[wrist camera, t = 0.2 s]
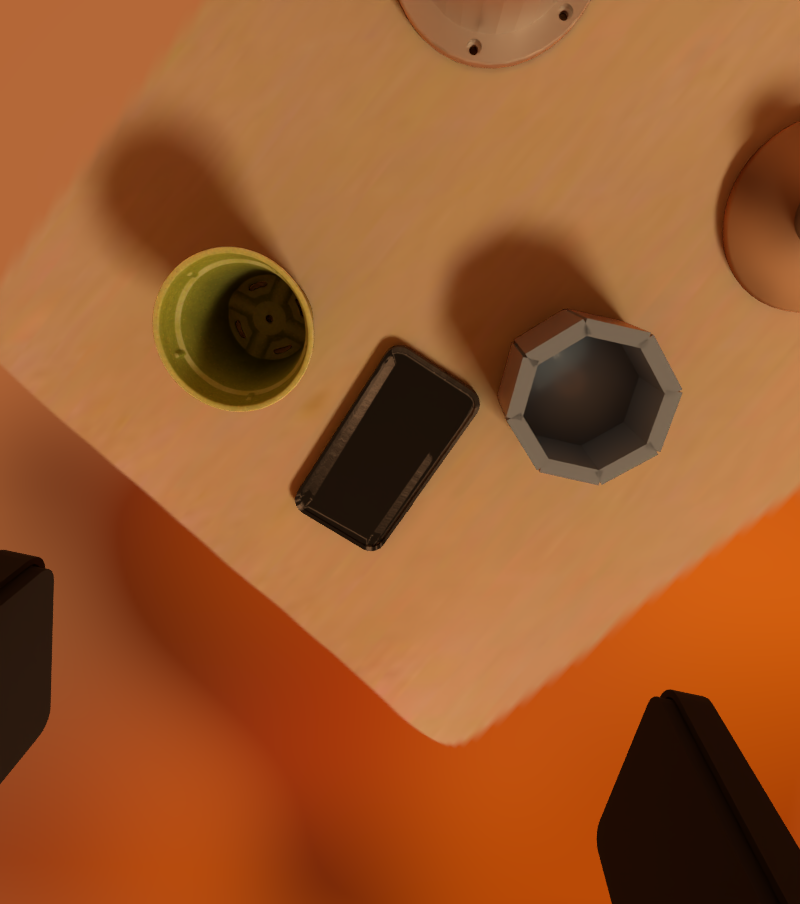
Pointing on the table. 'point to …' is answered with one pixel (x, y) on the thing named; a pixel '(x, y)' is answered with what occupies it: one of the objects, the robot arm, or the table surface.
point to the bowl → (588, 396)
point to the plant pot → (233, 329)
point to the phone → (387, 448)
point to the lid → (767, 223)
